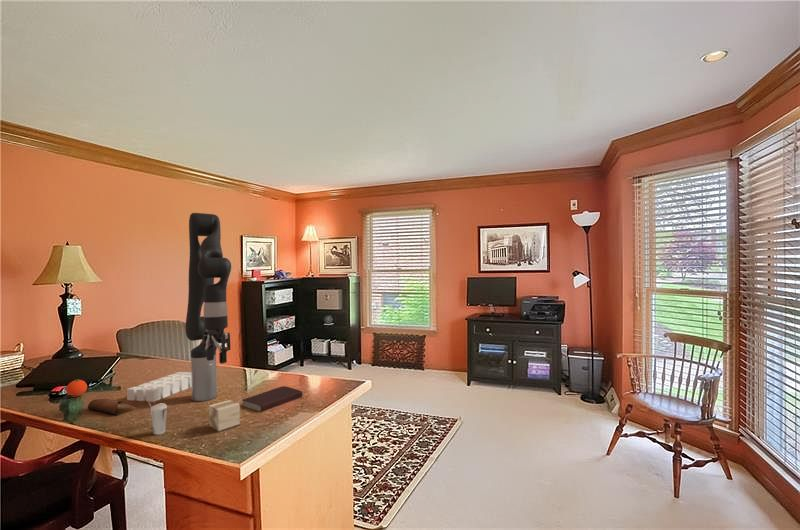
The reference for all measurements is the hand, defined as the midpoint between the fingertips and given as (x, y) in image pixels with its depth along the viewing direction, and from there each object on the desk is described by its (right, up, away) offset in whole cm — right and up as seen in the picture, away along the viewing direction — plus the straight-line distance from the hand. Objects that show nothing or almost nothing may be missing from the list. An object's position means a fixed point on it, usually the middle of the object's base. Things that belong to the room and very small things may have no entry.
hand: (216, 361), depth 134 cm
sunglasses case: (-46, -22, +13) cm, 52 cm away
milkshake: (-14, -21, -10) cm, 27 cm away
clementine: (-74, -23, +31) cm, 83 cm away
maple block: (+6, -20, -6) cm, 22 cm away
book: (+14, -21, +17) cm, 30 cm away
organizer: (-37, -22, +39) cm, 58 cm away
